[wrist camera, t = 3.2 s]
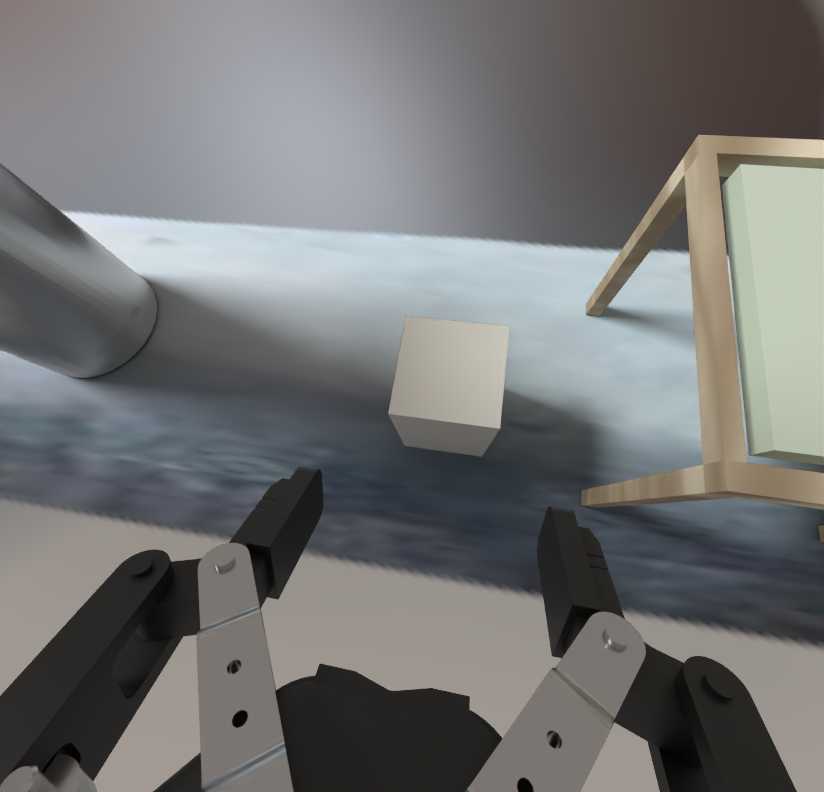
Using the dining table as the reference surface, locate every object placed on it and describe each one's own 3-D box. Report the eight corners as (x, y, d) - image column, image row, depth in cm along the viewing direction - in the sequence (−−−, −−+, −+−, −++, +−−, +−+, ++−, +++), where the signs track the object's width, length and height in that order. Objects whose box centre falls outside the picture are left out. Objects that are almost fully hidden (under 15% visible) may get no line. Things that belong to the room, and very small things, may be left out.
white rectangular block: (404, 445, 25) (388, 413, 17) (416, 374, 26) (405, 315, 19) (481, 456, 24) (499, 428, 17) (489, 383, 26) (509, 326, 18)
